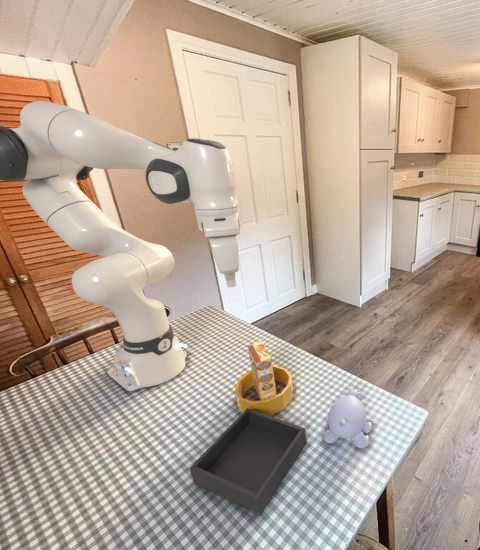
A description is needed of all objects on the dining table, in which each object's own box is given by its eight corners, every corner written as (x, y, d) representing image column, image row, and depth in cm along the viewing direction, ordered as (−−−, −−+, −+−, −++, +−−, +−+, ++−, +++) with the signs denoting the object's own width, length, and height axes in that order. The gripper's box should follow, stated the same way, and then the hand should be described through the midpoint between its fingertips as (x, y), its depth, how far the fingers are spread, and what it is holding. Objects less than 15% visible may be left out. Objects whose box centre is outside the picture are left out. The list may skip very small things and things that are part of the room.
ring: (226, 408, 81) (222, 393, 79) (261, 374, 94) (259, 360, 92) (271, 424, 76) (269, 409, 74) (302, 386, 89) (301, 372, 87)
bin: (194, 484, 62) (189, 468, 60) (249, 422, 77) (247, 408, 75) (260, 516, 57) (256, 499, 55) (306, 443, 71) (305, 428, 69)
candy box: (278, 403, 82) (272, 357, 77) (263, 410, 80) (255, 363, 75) (269, 384, 89) (262, 340, 84) (254, 390, 87) (246, 345, 81)
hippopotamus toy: (375, 407, 82) (375, 379, 78) (365, 458, 68) (366, 426, 64) (336, 402, 83) (335, 374, 80) (319, 451, 69) (317, 419, 66)
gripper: (203, 213, 73) (214, 267, 78) (203, 231, 56) (216, 298, 61) (232, 211, 76) (240, 263, 81) (239, 227, 59) (249, 292, 64)
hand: (230, 278), depth 71 cm, fingers open, 8 cm apart
